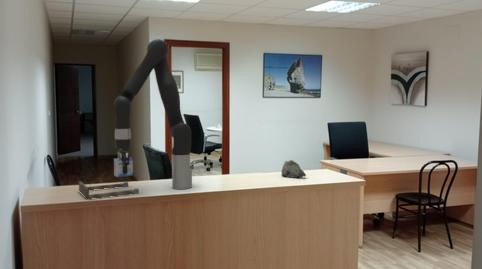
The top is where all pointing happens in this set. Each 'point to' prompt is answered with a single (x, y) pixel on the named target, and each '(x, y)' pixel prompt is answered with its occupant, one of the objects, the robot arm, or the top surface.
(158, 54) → the robot arm
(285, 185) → the top surface
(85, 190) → the bay
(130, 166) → the medicine box
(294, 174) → the mineral rock
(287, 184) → the top surface
